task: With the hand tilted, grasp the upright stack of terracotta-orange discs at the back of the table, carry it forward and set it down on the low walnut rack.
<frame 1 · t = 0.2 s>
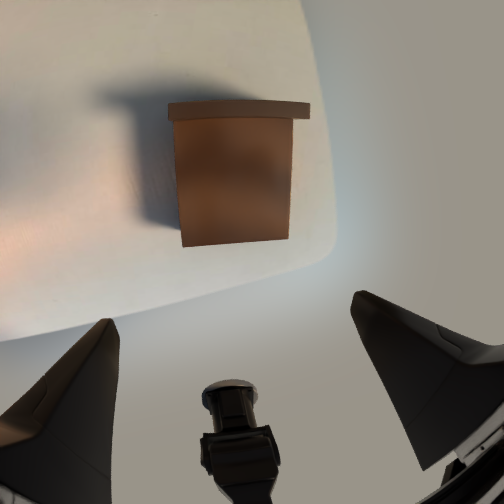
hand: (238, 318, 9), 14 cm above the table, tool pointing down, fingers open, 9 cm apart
rack: (230, 168, 21), on the table
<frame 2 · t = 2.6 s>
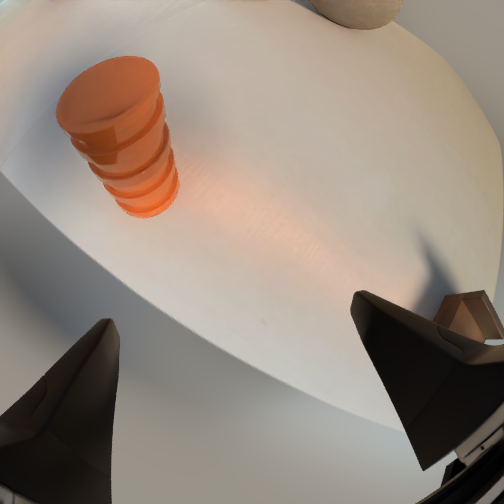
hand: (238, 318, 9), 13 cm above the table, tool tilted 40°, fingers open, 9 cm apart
planter: (334, 22, 35), on the table
disc stack: (146, 186, 24), on the table
rack: (443, 348, 25), on the table
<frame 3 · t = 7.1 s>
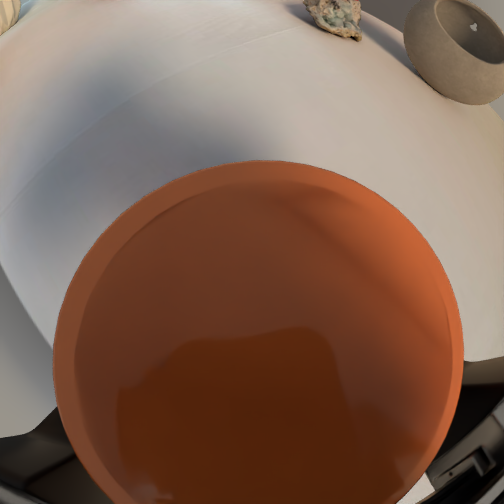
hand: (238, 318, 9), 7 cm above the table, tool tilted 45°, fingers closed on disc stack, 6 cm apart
planter: (431, 87, 30), on the table
disc stack: (231, 350, 15), on the table, touching gripper
vase: (2, 31, 29), on the table
mineral specimen: (327, 27, 31), on the table
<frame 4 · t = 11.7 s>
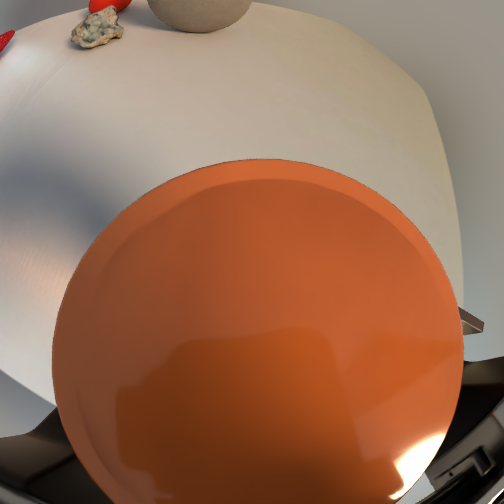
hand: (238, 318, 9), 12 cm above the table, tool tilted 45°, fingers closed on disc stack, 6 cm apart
planter: (194, 32, 34), on the table
disc stack: (231, 350, 15), point 6 cm above the table, touching gripper
rack: (408, 365, 22), on the table
tomato: (112, 12, 37), on the table
mineral specimen: (97, 41, 32), on the table
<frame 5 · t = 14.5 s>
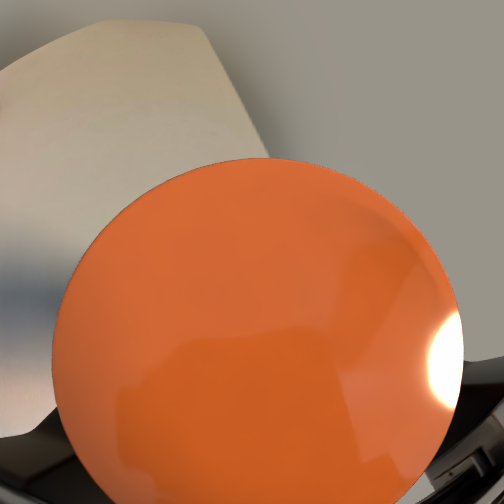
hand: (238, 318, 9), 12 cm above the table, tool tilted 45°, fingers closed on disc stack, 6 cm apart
disc stack: (231, 349, 15), point 6 cm above the table, touching gripper
when the fingers open (10 cm above the table, at t = 16.5 s): disc stack stays where it is, resting on rack.
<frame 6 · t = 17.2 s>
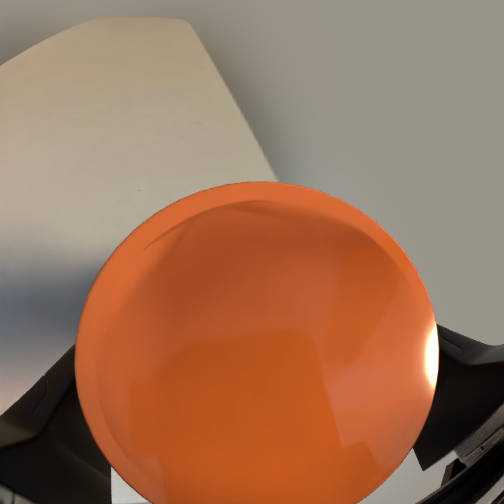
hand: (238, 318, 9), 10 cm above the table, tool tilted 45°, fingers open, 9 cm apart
disc stack: (230, 349, 16), point 3 cm above the table, touching rack
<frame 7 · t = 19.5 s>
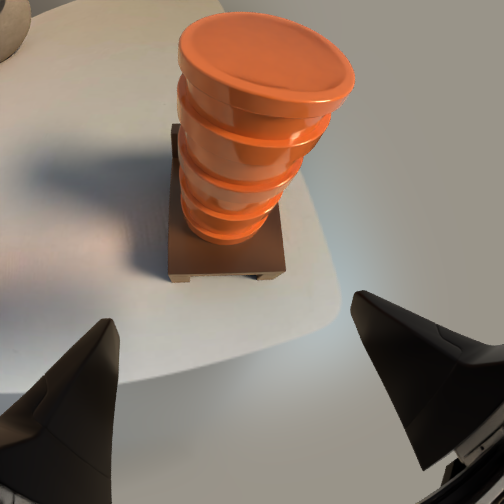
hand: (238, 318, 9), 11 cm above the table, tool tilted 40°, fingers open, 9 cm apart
planter: (3, 61, 23), on the table
disc stack: (224, 203, 19), point 3 cm above the table, touching rack
rack: (220, 221, 22), on the table
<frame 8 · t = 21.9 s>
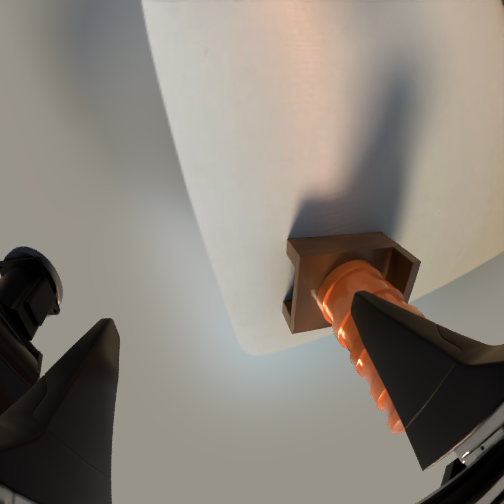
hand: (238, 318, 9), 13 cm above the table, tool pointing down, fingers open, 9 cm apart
disc stack: (348, 290, 23), point 3 cm above the table, touching rack
rack: (333, 272, 26), on the table
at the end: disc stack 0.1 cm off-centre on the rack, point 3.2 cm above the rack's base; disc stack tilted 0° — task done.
